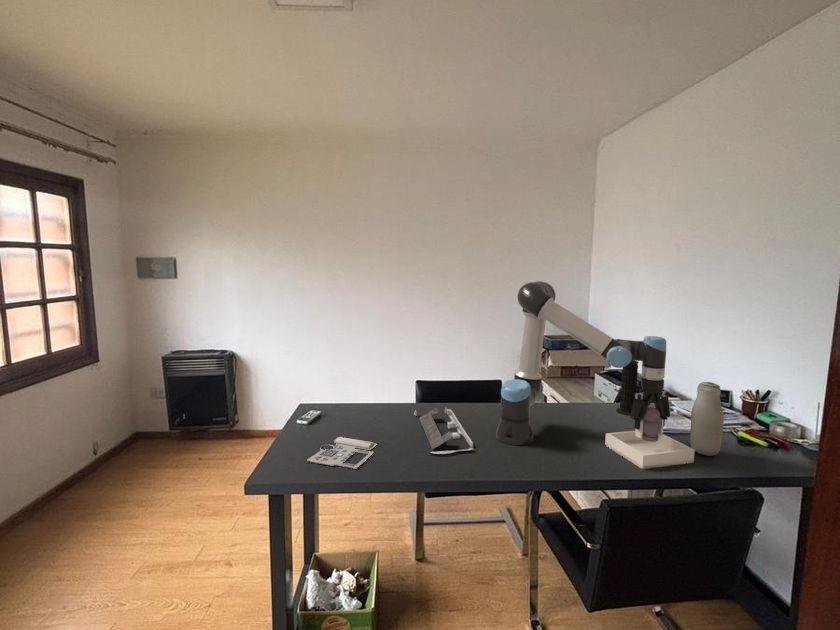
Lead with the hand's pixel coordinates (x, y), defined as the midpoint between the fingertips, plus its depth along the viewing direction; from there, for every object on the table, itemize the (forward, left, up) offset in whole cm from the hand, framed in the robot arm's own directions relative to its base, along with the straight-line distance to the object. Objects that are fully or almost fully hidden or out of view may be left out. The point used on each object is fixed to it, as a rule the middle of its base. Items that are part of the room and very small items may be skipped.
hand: (648, 435), depth 159 cm
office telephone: (-112, +26, -8) cm, 115 cm away
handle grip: (+25, +41, -7) cm, 49 cm away
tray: (0, 0, -7) cm, 7 cm away
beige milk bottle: (+21, -5, -7) cm, 23 cm away
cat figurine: (0, 0, -1) cm, 1 cm away
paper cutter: (-71, +37, -8) cm, 81 cm away
